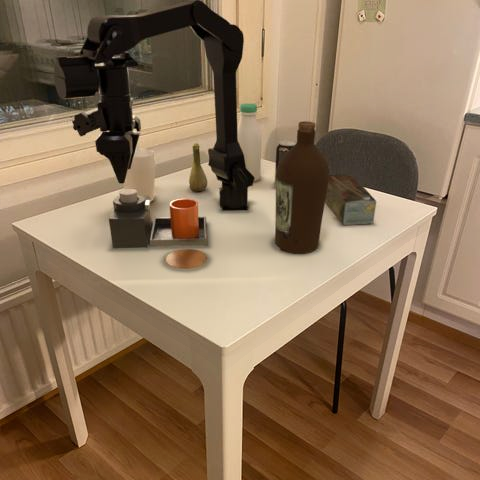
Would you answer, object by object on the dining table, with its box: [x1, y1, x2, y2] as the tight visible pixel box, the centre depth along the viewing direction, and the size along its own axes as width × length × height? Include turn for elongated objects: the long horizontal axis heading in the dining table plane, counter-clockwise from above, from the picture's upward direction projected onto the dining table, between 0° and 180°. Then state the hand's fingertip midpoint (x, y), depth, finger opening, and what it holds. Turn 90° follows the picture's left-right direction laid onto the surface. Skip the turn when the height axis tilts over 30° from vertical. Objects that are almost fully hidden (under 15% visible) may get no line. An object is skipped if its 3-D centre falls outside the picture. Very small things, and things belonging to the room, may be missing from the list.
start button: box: [118, 188, 138, 203], centre depth 102 cm, size 4×4×2 cm
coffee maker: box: [108, 195, 152, 249], centre depth 105 cm, size 7×13×8 cm, turn 4°
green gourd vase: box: [188, 142, 208, 192], centre depth 129 cm, size 6×5×12 cm
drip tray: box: [149, 216, 208, 248], centre depth 107 cm, size 12×12×2 cm
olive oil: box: [274, 120, 330, 255], centre depth 98 cm, size 11×11×25 cm
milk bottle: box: [237, 102, 262, 182], centre depth 135 cm, size 8×8×20 cm
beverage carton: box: [325, 173, 377, 226], centre depth 120 cm, size 8×19×7 cm, turn 7°
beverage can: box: [274, 139, 297, 186], centre depth 132 cm, size 6×6×12 cm
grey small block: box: [145, 200, 151, 212], centre depth 104 cm, size 1×3×2 cm, turn 4°
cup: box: [122, 147, 156, 203], centre depth 122 cm, size 9×9×12 cm
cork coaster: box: [165, 248, 209, 270], centre depth 98 cm, size 8×8×1 cm
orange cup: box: [169, 198, 199, 239], centre depth 106 cm, size 6×6×7 cm
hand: (124, 175), depth 101 cm, fingers open, 9 cm apart
